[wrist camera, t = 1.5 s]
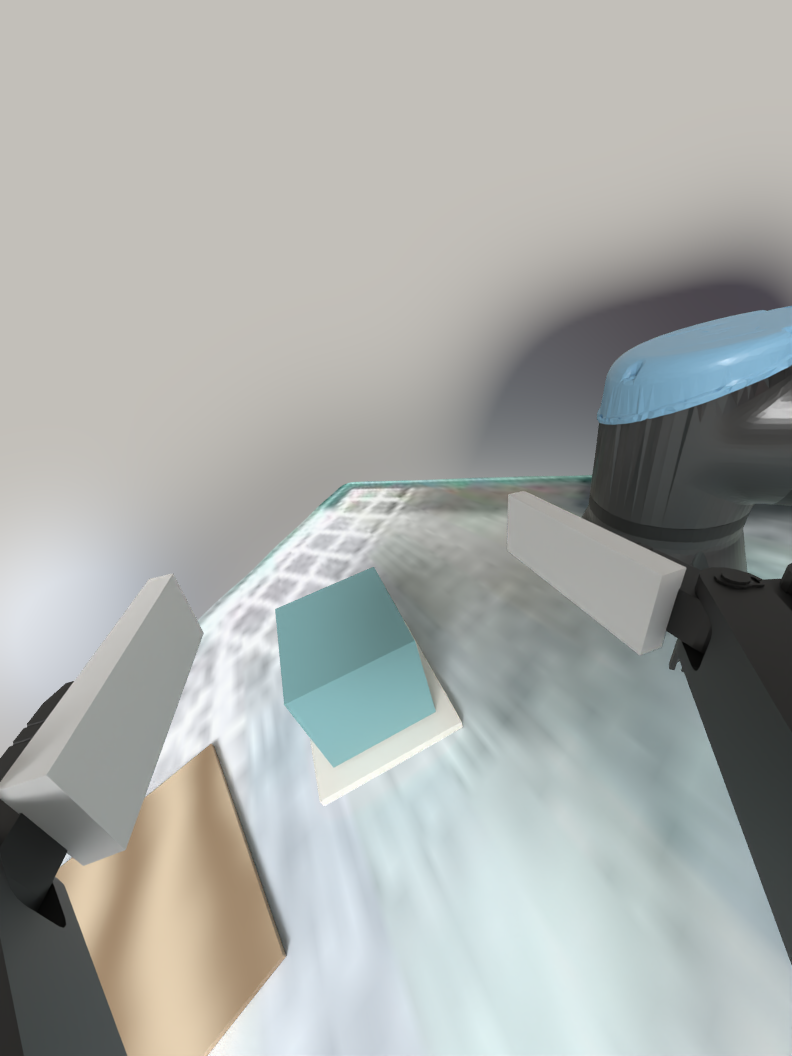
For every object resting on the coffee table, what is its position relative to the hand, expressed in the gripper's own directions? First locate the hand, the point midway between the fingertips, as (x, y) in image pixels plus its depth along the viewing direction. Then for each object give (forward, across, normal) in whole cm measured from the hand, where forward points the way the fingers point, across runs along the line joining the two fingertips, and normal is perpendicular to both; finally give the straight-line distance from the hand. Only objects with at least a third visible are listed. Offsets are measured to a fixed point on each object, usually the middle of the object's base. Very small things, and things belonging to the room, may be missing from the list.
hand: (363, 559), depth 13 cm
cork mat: (+1, -20, -24) cm, 31 cm away
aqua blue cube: (+10, -1, -19) cm, 22 cm away
